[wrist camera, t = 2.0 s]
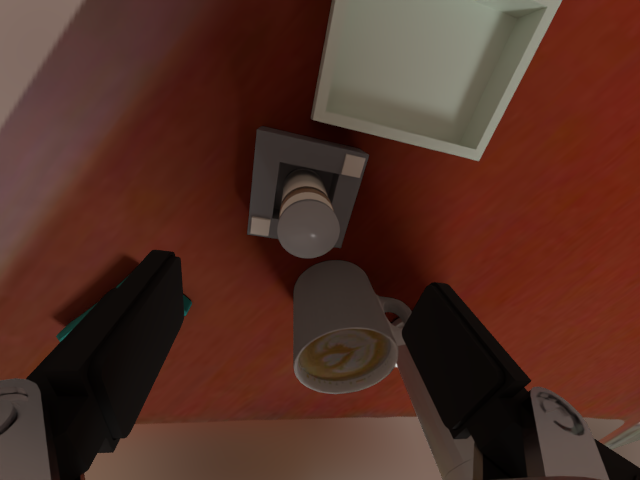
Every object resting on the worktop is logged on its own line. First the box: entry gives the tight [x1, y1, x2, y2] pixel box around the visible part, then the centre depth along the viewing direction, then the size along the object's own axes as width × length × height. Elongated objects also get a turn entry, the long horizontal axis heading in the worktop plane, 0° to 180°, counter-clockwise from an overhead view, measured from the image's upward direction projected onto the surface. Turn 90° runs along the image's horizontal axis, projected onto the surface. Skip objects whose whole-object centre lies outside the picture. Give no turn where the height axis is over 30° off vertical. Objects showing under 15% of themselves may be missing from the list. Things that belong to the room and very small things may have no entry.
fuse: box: [277, 168, 340, 258], centre depth 19 cm, size 4×4×9 cm
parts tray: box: [311, 0, 562, 161], centre depth 19 cm, size 15×11×3 cm
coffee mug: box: [294, 260, 412, 394], centre depth 27 cm, size 13×10×10 cm
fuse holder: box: [247, 126, 369, 248], centre depth 22 cm, size 9×9×4 cm
